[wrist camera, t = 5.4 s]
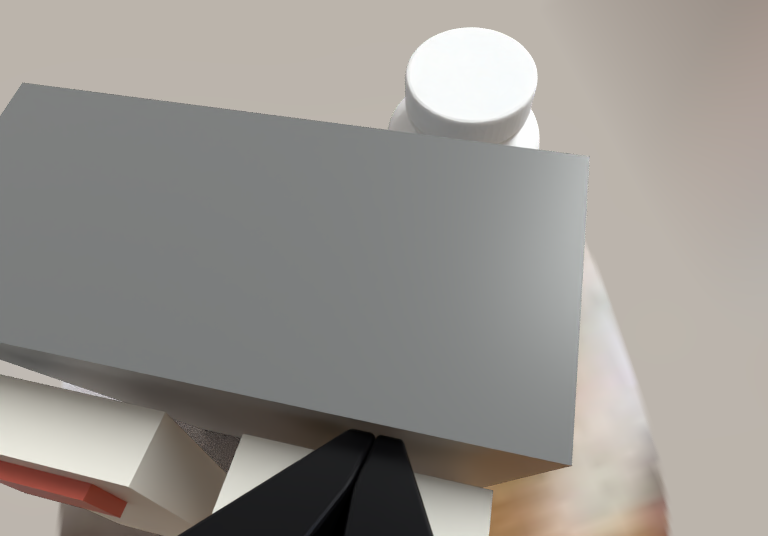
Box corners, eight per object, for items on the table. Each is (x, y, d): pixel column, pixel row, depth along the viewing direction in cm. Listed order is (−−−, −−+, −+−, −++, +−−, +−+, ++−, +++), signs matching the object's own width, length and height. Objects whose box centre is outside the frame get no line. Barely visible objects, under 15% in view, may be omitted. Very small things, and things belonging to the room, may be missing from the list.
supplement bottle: (520, 274, 23) (586, 130, 14) (402, 291, 23) (391, 158, 14) (494, 176, 25) (535, -1, 16) (386, 192, 25) (369, 23, 16)
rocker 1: (245, 569, 14) (118, 505, 8) (115, 534, 14) (-107, 447, 8) (264, 512, 15) (165, 412, 8) (140, 481, 15) (-40, 364, 9)
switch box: (470, 490, 19) (571, 465, 7) (203, 429, 21) (-133, 314, 8) (486, 363, 21) (589, 156, 9) (242, 316, 23) (22, 82, 10)
